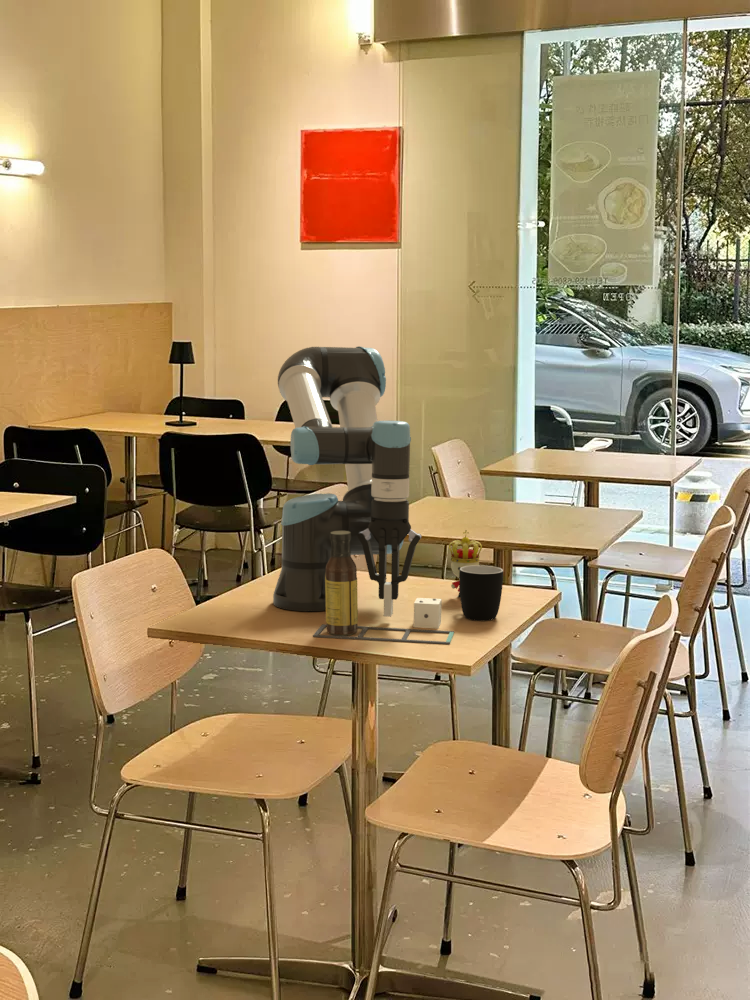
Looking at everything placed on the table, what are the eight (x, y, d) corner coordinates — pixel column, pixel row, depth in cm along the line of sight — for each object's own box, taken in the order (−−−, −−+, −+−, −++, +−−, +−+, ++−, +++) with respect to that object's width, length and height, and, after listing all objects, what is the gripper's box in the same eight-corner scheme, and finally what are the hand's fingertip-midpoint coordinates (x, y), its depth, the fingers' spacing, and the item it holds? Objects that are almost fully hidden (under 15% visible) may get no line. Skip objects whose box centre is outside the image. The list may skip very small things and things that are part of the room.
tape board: (322, 625, 252) (322, 624, 251) (454, 632, 248) (454, 631, 248) (312, 636, 242) (312, 635, 242) (449, 644, 238) (449, 642, 238)
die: (416, 621, 257) (417, 596, 256) (441, 623, 256) (441, 597, 255) (413, 628, 251) (413, 602, 251) (438, 629, 251) (438, 603, 250)
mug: (510, 620, 259) (512, 571, 258) (473, 624, 255) (475, 575, 253) (478, 608, 269) (479, 561, 268) (442, 612, 265) (443, 564, 264)
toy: (453, 600, 276) (455, 533, 274) (443, 593, 283) (445, 527, 281) (484, 599, 278) (486, 532, 276) (474, 592, 285) (476, 527, 283)
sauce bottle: (347, 627, 251) (348, 528, 248) (363, 634, 245) (365, 532, 243) (318, 631, 247) (319, 530, 244) (334, 638, 242) (336, 535, 239)
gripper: (354, 500, 249) (353, 617, 252) (420, 502, 247) (418, 620, 250) (360, 495, 256) (359, 609, 259) (424, 497, 254) (422, 612, 257)
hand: (388, 614), depth 255 cm, fingers closed
